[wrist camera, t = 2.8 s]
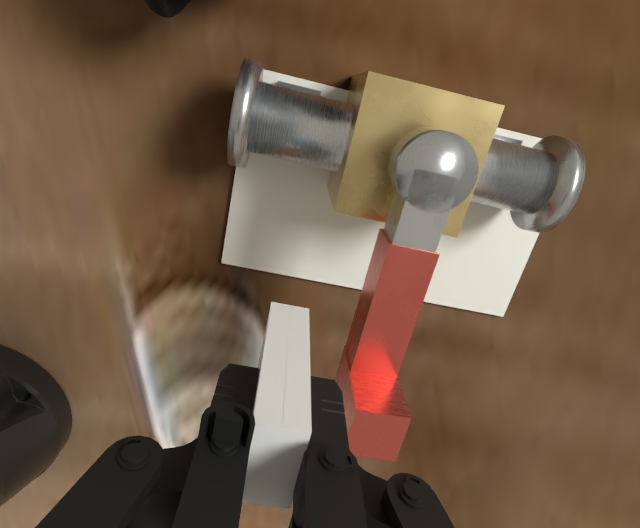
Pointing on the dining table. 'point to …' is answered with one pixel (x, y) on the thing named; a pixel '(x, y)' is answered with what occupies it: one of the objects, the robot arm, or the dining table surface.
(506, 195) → the valve
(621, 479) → the dining table surface
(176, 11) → the mug
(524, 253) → the board
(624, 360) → the dining table surface
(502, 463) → the dining table surface
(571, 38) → the dining table surface
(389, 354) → the lever
